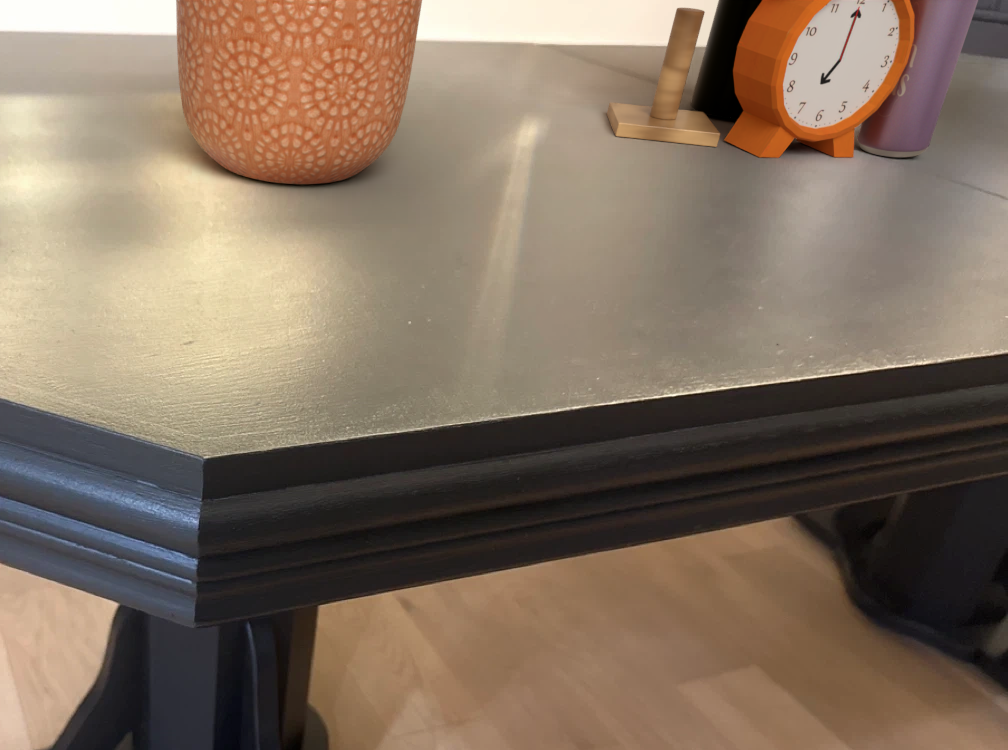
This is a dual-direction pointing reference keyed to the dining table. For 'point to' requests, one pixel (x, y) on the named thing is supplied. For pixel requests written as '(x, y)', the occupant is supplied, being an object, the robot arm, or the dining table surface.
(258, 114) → the planter
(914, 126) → the beverage can
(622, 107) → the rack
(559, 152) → the dining table surface
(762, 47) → the alarm clock
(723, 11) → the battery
